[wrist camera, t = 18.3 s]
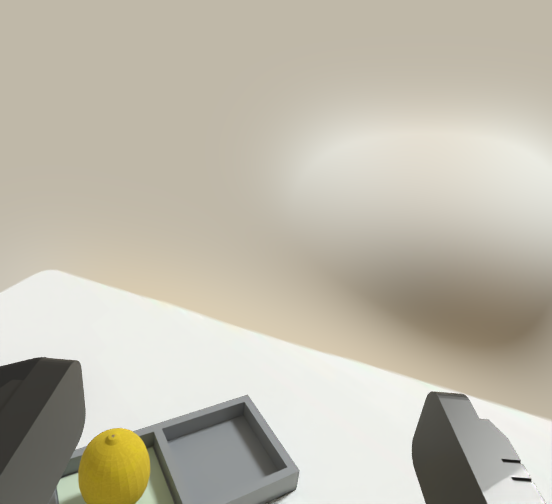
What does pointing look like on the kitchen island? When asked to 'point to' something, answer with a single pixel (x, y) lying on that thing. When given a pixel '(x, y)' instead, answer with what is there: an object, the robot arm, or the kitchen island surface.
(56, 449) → the robot arm
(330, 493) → the kitchen island surface
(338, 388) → the kitchen island surface
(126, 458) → the lemon
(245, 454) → the organiser tray
